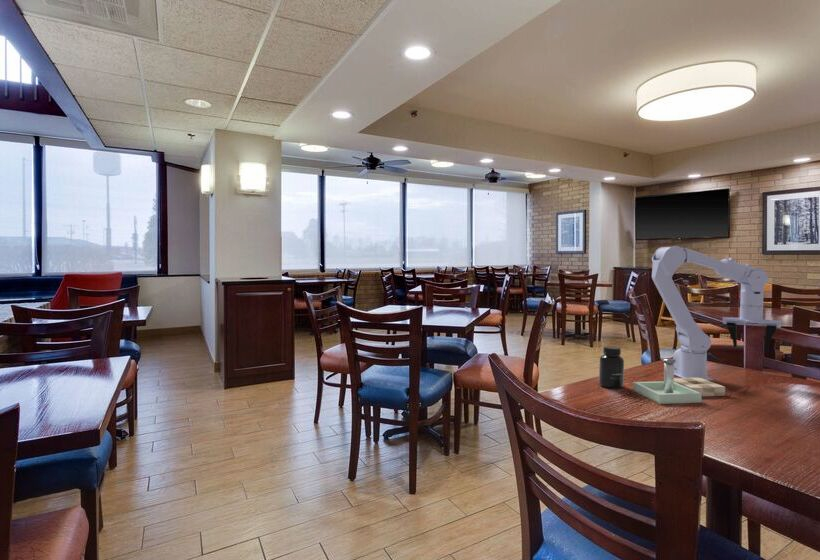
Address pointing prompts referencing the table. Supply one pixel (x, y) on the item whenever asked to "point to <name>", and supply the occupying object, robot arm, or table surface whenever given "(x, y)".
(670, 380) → the steel pin
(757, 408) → the table surface
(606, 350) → the supplement bottle
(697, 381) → the birch block
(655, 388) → the green tray
